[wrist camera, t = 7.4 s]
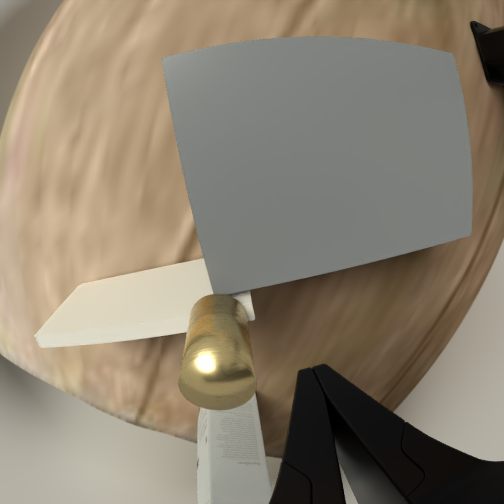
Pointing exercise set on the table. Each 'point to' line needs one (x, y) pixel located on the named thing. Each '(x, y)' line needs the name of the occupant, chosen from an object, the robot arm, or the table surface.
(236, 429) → the skincare box
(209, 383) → the side door
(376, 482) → the robot arm
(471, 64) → the table surface
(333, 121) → the case
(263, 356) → the table surface
